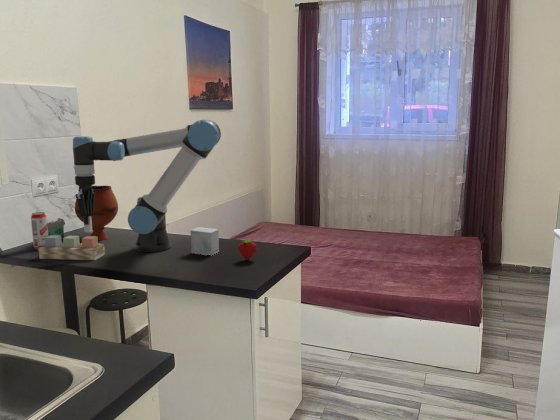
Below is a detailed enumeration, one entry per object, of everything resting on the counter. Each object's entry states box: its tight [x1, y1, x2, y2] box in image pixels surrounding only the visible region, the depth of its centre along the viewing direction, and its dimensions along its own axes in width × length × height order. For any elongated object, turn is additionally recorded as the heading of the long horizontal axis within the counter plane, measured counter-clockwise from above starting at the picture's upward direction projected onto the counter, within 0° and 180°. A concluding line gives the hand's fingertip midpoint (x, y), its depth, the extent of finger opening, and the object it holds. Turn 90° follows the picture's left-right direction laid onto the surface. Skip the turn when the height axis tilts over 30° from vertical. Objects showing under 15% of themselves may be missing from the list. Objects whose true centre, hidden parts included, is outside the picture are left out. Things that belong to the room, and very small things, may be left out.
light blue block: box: [45, 235, 63, 248], centre depth 209 cm, size 5×5×4 cm
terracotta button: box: [81, 235, 99, 249], centre depth 208 cm, size 5×5×4 cm
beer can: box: [30, 211, 48, 251], centre depth 221 cm, size 6×6×16 cm
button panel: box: [38, 242, 106, 261], centre depth 209 cm, size 24×9×4 cm, turn 84°
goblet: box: [74, 185, 119, 241], centre depth 238 cm, size 19×19×25 cm
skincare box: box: [190, 226, 220, 257], centre depth 214 cm, size 10×6×10 cm, turn 65°
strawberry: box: [238, 239, 258, 261], centre depth 203 cm, size 6×8×10 cm
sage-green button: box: [62, 235, 81, 248], centre depth 209 cm, size 5×5×4 cm
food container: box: [47, 217, 66, 243], centre depth 233 cm, size 12×6×10 cm, turn 168°
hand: (88, 231), depth 207 cm, fingers closed
